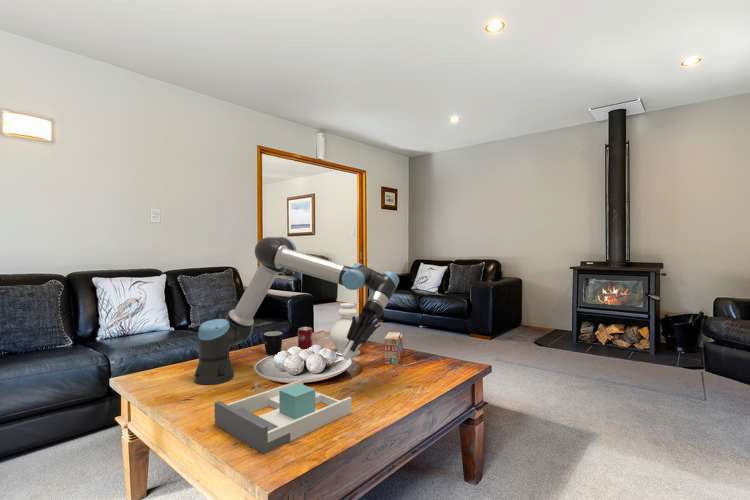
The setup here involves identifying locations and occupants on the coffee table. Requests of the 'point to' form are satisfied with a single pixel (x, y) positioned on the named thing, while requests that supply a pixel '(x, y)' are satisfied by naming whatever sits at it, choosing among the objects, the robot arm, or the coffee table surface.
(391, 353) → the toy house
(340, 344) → the decorative vase
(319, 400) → the tray
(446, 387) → the coffee table surface
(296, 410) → the block
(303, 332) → the soda can
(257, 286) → the robot arm
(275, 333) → the mug
